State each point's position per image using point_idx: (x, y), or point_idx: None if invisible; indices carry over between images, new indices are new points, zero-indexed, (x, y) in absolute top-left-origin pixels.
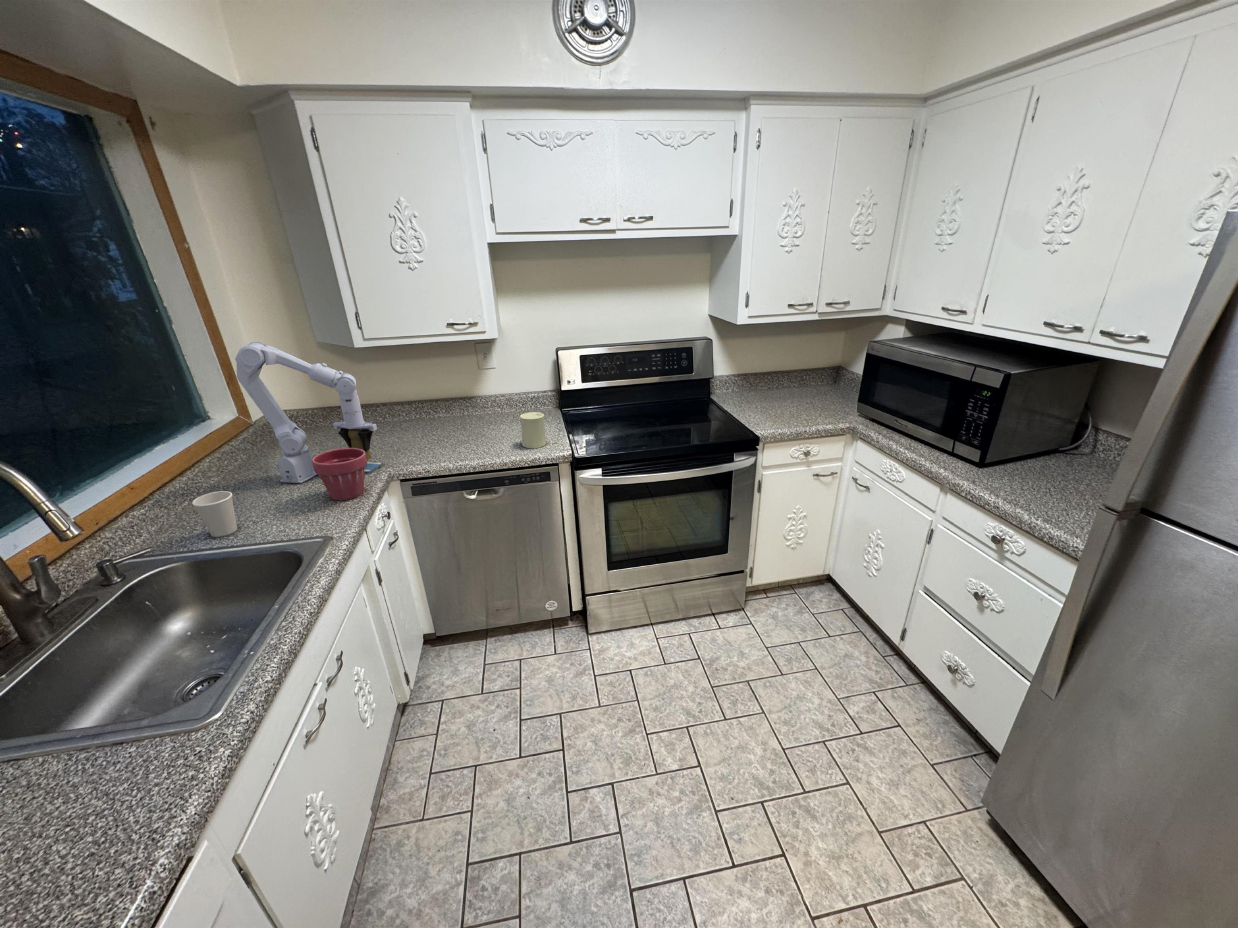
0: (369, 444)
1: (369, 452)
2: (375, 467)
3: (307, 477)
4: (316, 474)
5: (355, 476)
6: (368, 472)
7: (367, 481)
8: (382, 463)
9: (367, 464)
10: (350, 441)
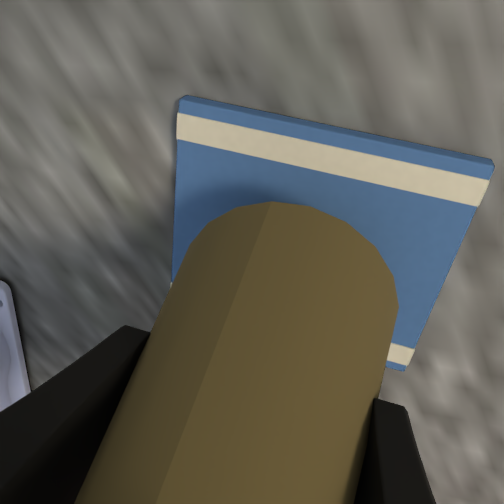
0: (417, 487)
1: (384, 356)
2: (440, 288)
3: (10, 375)
4: (17, 329)
5: None
6: (400, 366)
7: (443, 483)
8: (492, 170)
9: (316, 199)
10: (70, 499)
